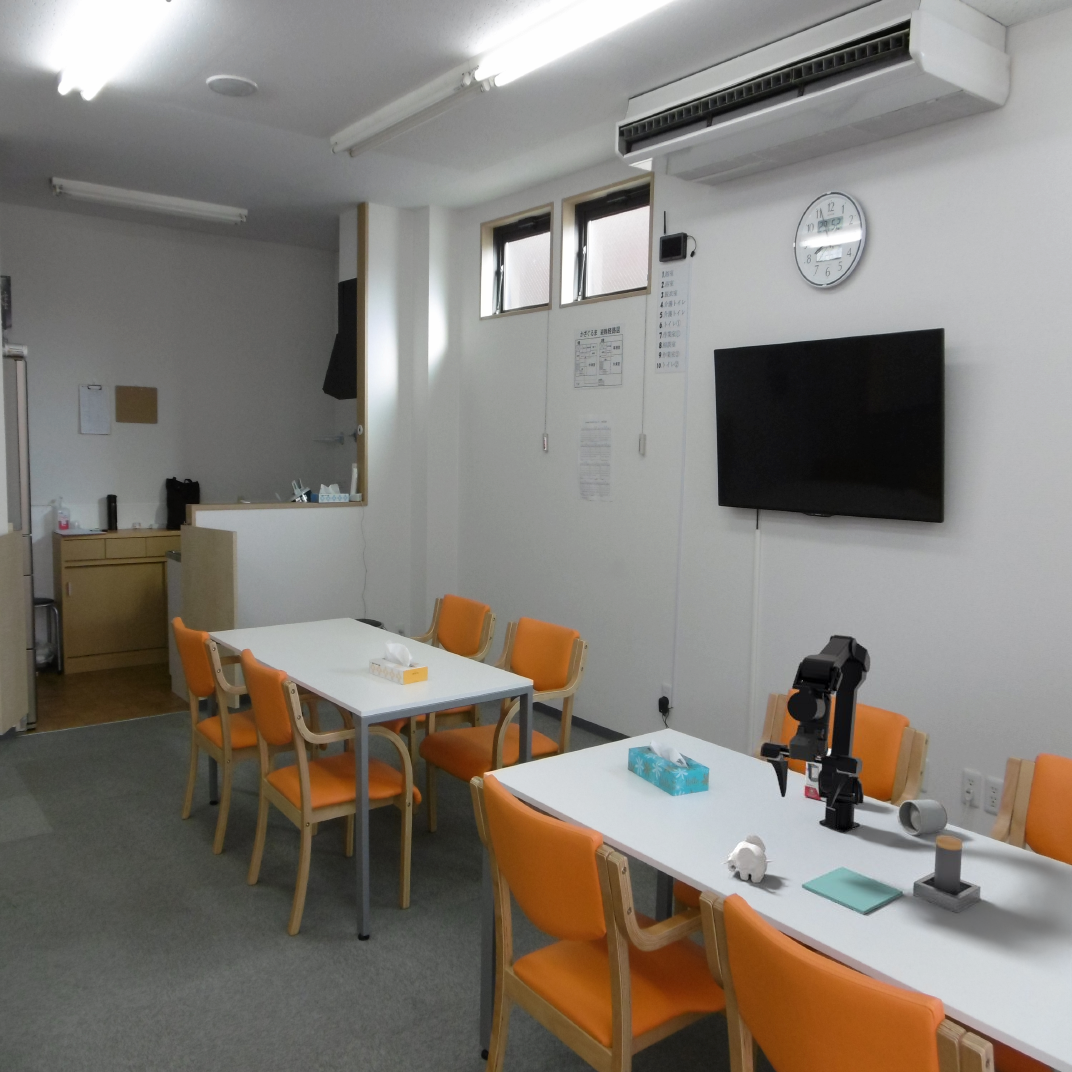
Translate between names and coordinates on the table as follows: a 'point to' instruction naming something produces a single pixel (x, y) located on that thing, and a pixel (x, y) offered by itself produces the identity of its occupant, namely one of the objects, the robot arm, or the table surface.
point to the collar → (946, 894)
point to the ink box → (813, 779)
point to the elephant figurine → (749, 859)
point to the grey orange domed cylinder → (948, 864)
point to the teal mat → (852, 890)
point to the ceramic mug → (922, 816)
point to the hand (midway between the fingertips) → (806, 801)
